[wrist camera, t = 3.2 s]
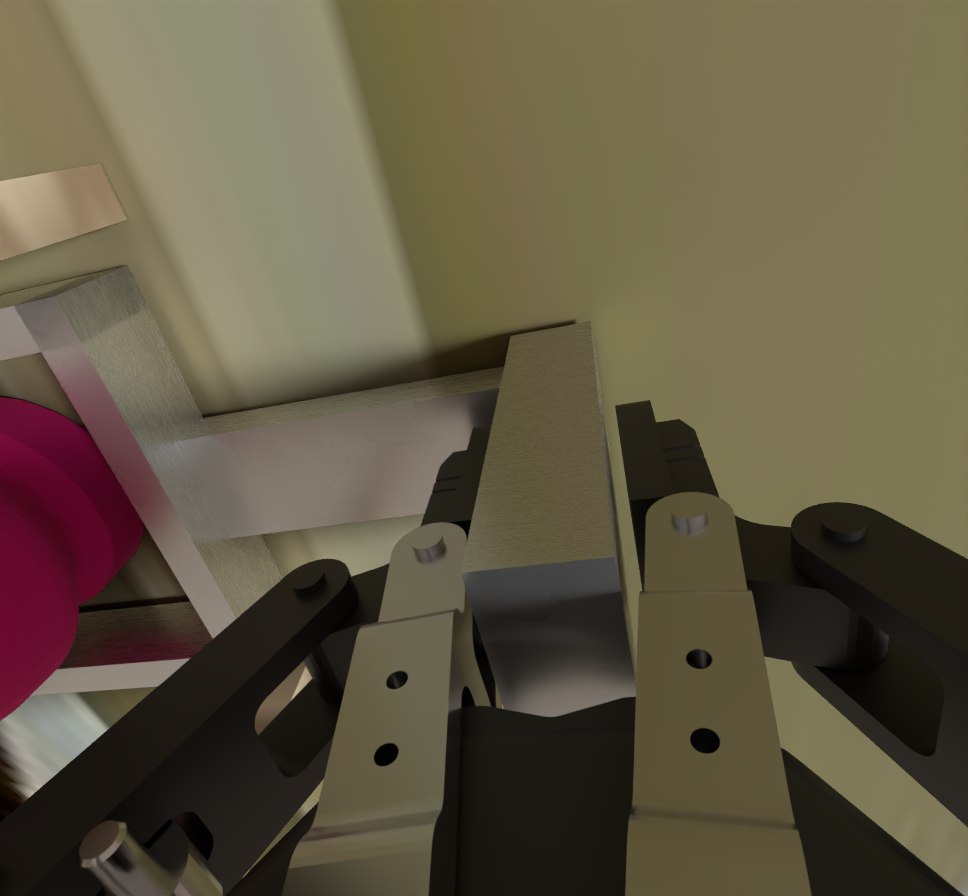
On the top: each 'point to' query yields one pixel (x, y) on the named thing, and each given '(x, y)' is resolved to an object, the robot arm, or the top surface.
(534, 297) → the top surface
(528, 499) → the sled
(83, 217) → the shelf tunnel
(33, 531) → the pepper mill
